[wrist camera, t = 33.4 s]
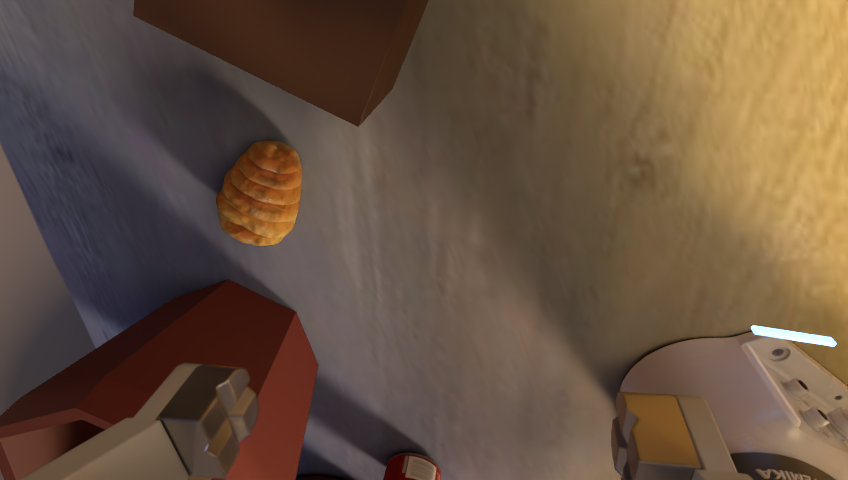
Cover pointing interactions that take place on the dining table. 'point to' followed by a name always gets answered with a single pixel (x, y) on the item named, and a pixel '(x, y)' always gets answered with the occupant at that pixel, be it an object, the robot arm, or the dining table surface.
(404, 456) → the soda can
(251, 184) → the pastry
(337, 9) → the cabinet
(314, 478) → the dish
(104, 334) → the dining table surface
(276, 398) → the bucket
